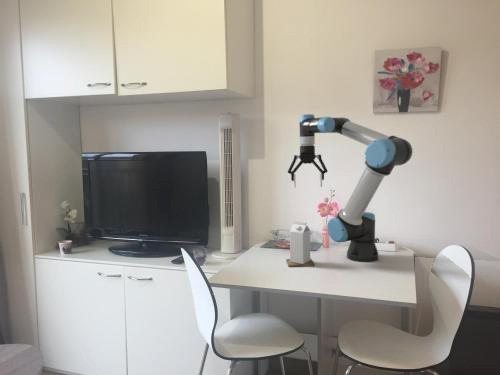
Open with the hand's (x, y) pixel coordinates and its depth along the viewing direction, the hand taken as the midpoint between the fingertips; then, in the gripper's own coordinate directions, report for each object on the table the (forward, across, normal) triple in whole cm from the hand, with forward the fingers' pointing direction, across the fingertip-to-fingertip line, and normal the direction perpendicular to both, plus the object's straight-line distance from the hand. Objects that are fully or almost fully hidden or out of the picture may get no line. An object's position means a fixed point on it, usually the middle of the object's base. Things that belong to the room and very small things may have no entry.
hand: (307, 186), depth 215 cm
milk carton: (+34, +7, +19) cm, 39 cm away
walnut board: (+35, +7, +19) cm, 40 cm away
